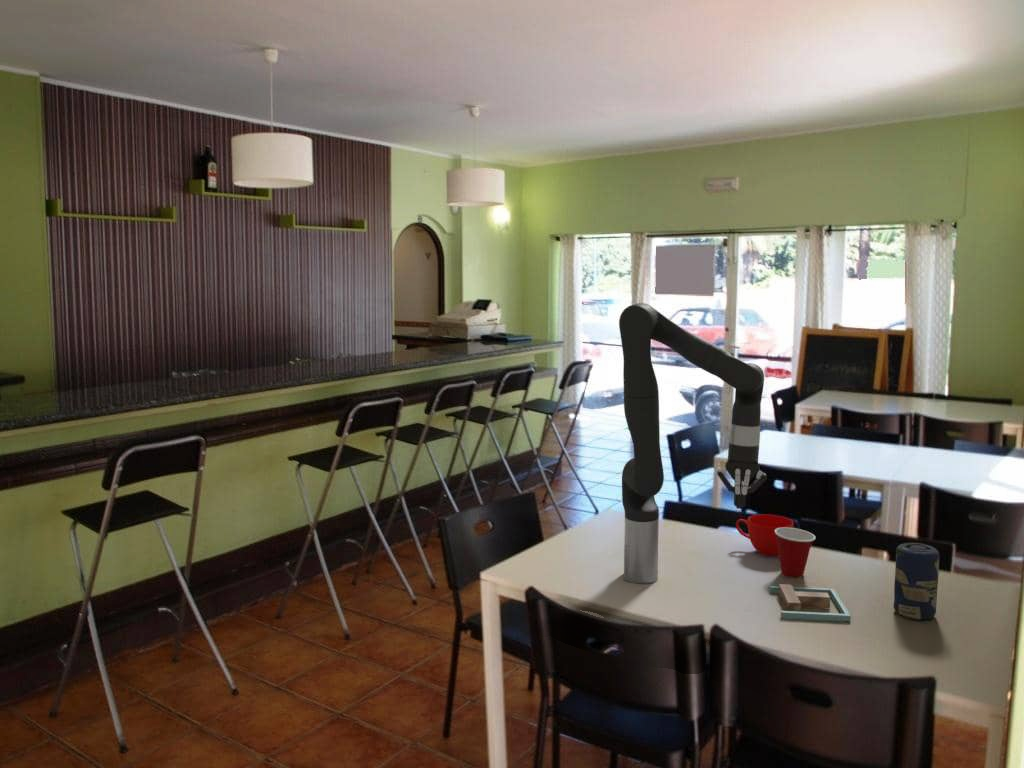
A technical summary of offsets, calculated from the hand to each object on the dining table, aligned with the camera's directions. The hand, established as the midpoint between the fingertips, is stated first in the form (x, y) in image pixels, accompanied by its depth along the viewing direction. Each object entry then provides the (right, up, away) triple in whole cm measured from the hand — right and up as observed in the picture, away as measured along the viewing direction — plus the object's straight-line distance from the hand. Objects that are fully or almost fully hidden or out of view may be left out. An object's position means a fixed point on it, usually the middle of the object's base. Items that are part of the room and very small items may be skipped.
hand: (739, 507), depth 212 cm
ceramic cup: (+17, -19, +35) cm, 43 cm away
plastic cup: (+20, -21, +17) cm, 33 cm away
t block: (+16, -24, -4) cm, 29 cm away
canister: (+40, -25, -10) cm, 48 cm away
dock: (+16, -24, -5) cm, 29 cm away
